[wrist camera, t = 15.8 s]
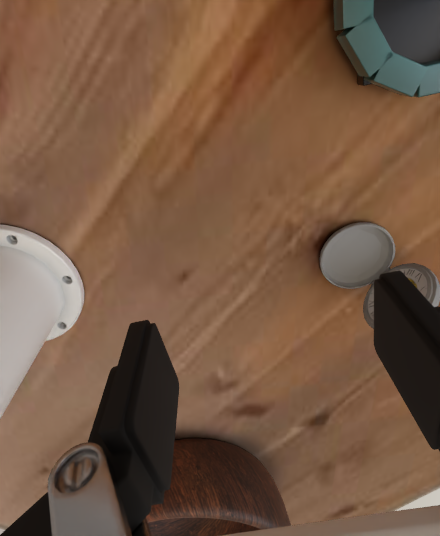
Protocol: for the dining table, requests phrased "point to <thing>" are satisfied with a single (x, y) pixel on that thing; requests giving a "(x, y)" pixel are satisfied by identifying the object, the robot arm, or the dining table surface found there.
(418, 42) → the stand
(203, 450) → the wooden bowl
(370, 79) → the ring
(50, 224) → the dining table surface
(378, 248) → the pocket watch
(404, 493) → the dining table surface
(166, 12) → the dining table surface
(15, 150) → the dining table surface
